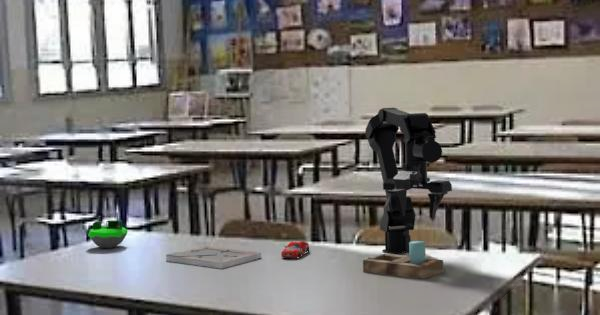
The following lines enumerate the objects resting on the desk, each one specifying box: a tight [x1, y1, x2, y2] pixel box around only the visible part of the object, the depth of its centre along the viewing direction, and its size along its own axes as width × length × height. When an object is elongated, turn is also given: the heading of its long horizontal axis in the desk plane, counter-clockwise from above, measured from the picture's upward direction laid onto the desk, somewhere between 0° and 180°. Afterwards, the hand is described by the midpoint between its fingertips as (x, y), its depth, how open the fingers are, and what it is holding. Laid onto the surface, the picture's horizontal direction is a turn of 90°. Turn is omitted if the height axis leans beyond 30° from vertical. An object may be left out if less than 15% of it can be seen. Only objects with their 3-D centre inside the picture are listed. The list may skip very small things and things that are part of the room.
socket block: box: [362, 252, 444, 280], centre depth 245 cm, size 18×10×3 cm, turn 51°
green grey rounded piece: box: [87, 212, 128, 249], centre depth 294 cm, size 12×12×11 cm
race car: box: [280, 240, 310, 259], centre depth 272 cm, size 13×5×4 cm, turn 160°
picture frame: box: [165, 245, 262, 269], centre depth 270 cm, size 16×2×22 cm
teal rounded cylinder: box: [408, 240, 426, 265], centre depth 242 cm, size 4×4×8 cm
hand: (417, 216), depth 258 cm, fingers open, 9 cm apart
